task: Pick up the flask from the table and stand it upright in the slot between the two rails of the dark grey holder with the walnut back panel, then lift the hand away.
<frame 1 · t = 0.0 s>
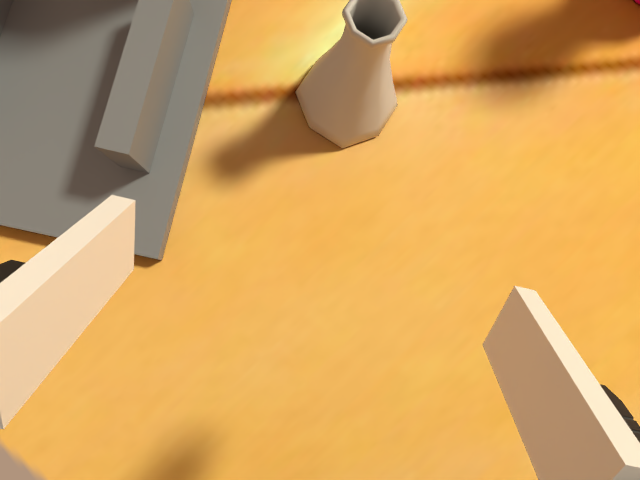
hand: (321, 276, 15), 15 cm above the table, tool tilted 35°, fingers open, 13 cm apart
shaker holder: (77, 74, 30), on the table
flask: (345, 101, 32), on the table
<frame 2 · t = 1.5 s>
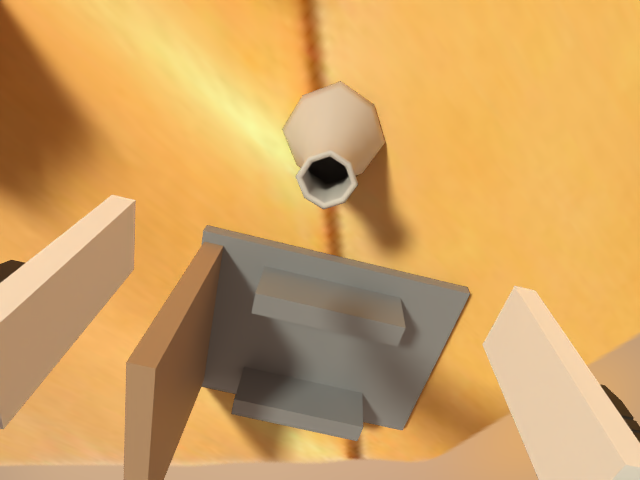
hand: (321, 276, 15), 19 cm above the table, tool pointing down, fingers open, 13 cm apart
shaker holder: (315, 335, 41), on the table
flask: (333, 134, 32), on the table
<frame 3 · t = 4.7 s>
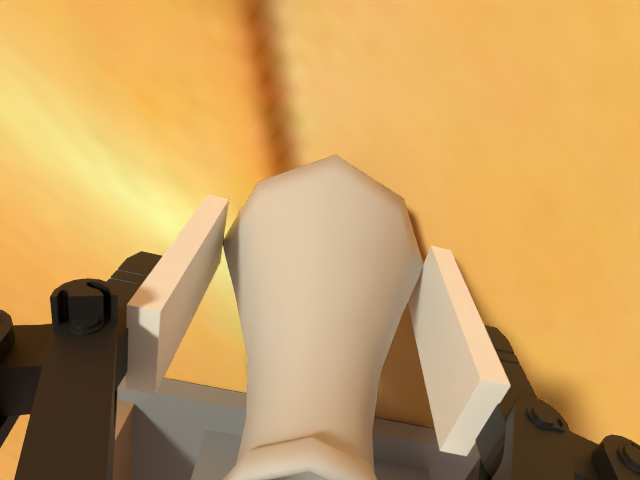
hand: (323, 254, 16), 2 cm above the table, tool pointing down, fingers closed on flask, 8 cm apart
flask: (323, 246, 17), point 1 cm above the table, touching gripper
when the fingers open (2 cm above the table, at t = 9.9 s): flask stays where it is, resting on shaker holder.
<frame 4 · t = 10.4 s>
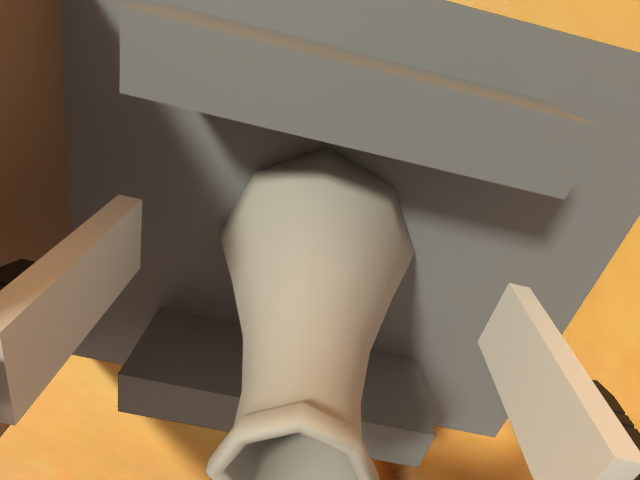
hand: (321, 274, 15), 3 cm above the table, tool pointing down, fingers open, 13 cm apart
shaker holder: (317, 228, 18), on the table
flask: (317, 236, 17), point 1 cm above the table, touching shaker holder
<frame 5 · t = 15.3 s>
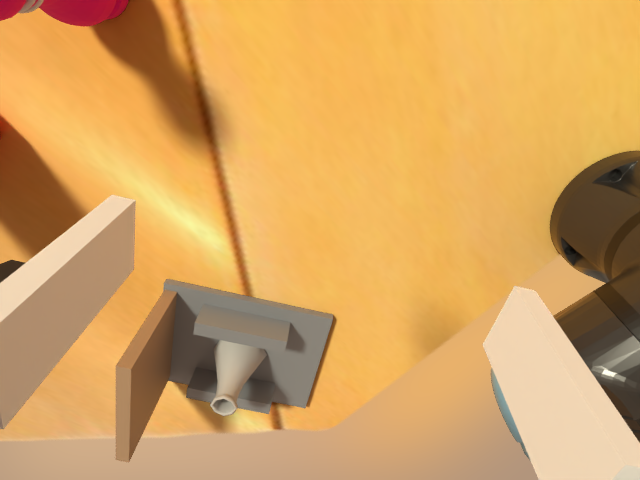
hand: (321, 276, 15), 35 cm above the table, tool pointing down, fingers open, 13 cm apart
shaker holder: (241, 345, 62), on the table
flask: (241, 349, 62), point 1 cm above the table, touching shaker holder
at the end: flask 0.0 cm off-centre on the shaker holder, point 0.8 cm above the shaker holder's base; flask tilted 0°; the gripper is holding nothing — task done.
